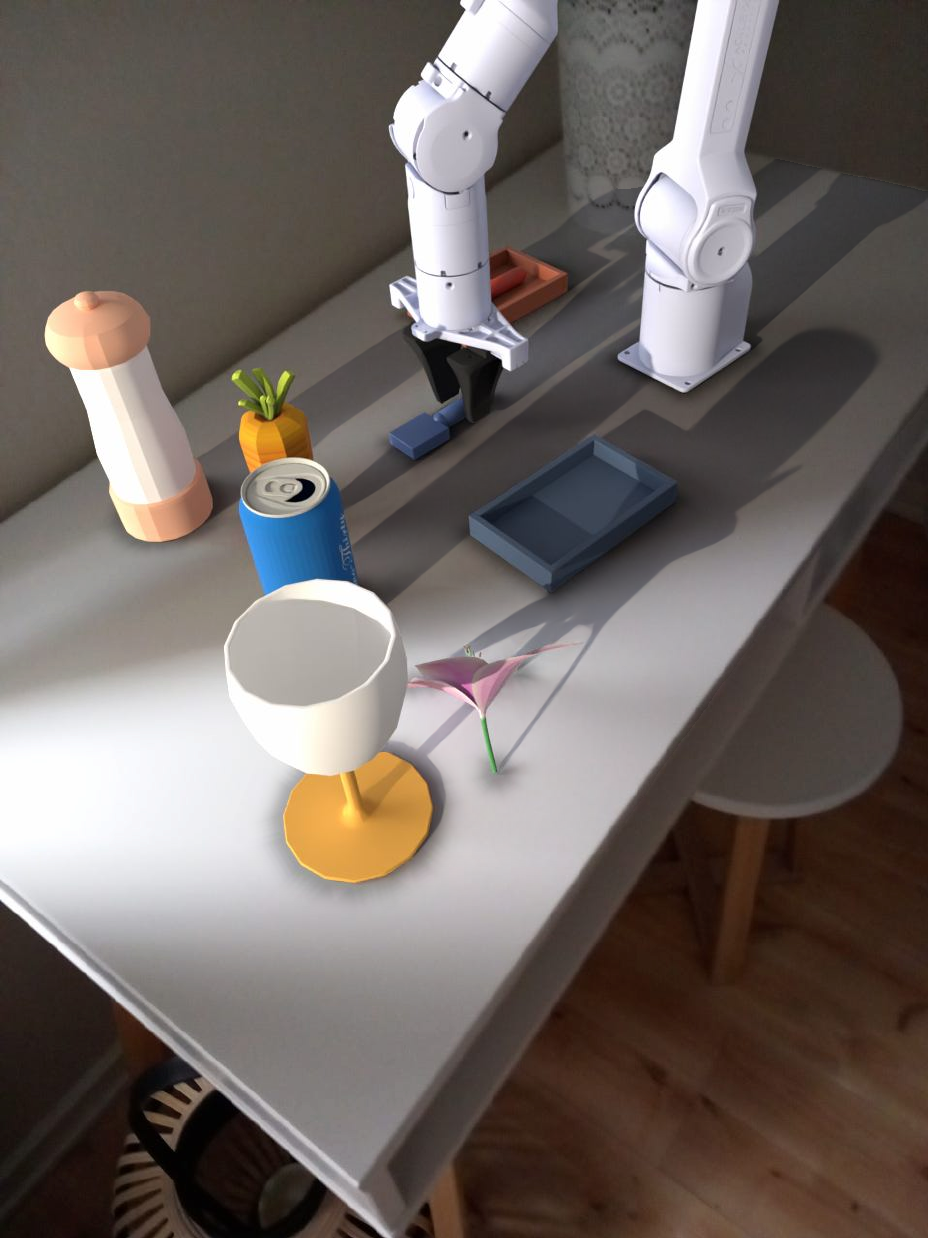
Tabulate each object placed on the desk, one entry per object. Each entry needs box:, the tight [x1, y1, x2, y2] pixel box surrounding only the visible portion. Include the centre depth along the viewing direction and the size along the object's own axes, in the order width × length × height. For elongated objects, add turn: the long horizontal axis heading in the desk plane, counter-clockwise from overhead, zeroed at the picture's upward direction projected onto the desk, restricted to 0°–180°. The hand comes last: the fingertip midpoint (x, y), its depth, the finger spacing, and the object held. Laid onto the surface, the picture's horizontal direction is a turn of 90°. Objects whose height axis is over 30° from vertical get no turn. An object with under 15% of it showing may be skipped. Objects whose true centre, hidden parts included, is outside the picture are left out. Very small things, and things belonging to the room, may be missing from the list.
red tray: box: [406, 245, 569, 348], centre depth 96 cm, size 14×9×2 cm, turn 132°
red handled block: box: [490, 267, 526, 299], centre depth 96 cm, size 10×3×2 cm, turn 132°
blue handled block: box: [388, 395, 495, 461], centre depth 83 cm, size 10×3×2 cm, turn 132°
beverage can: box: [238, 458, 360, 596], centre depth 65 cm, size 6×6×12 cm
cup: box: [223, 579, 434, 884], centre depth 53 cm, size 9×9×16 cm
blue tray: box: [468, 433, 679, 593], centre depth 74 cm, size 14×9×2 cm, turn 132°
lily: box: [407, 641, 583, 774], centre depth 60 cm, size 12×12×10 cm
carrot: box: [231, 367, 315, 474], centre depth 70 cm, size 5×5×15 cm
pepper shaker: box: [44, 290, 214, 543], centre depth 71 cm, size 7×7×19 cm
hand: (463, 406), depth 84 cm, fingers open, 3 cm apart
